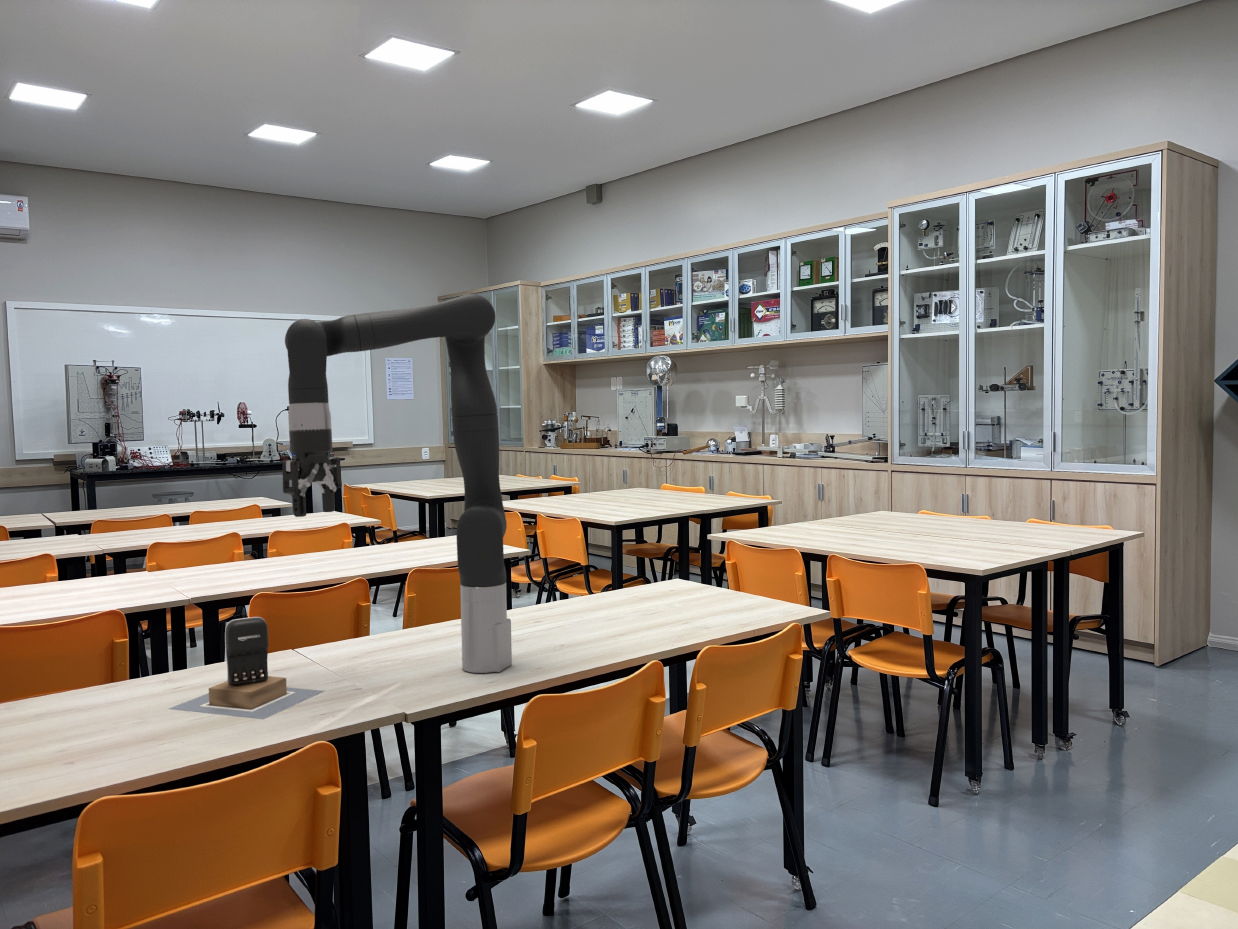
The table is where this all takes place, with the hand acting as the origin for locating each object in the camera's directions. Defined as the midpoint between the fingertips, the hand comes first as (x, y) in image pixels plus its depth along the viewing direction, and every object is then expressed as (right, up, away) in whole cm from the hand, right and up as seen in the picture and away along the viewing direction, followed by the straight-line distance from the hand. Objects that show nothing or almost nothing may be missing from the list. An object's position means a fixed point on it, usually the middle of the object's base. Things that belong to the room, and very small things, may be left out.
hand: (315, 514), depth 163 cm
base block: (-9, -33, -8) cm, 35 cm away
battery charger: (-9, -30, -8) cm, 32 cm away
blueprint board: (-9, -34, -8) cm, 36 cm away
